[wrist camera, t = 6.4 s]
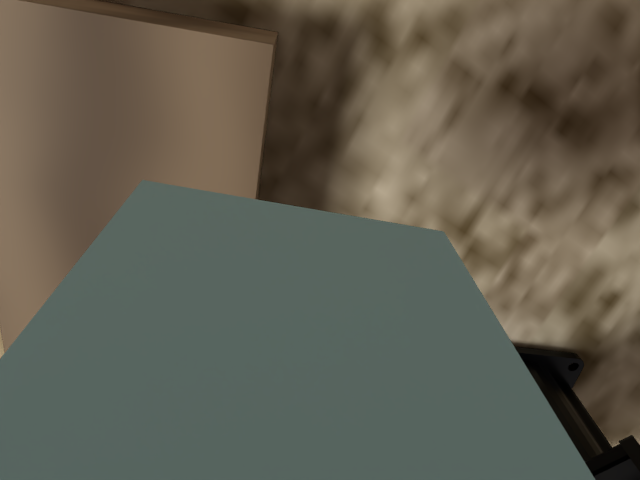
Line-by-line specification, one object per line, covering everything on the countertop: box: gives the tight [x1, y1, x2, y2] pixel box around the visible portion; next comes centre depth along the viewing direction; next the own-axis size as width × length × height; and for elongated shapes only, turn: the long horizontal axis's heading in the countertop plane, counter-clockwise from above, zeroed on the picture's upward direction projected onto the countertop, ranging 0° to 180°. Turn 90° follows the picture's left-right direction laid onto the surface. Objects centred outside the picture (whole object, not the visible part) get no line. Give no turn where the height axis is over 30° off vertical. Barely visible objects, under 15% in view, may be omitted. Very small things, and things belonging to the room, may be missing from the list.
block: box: [0, 180, 595, 480], centre depth 6 cm, size 5×5×6 cm
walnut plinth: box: [0, 0, 278, 352], centre depth 19 cm, size 8×20×4 cm, turn 170°
